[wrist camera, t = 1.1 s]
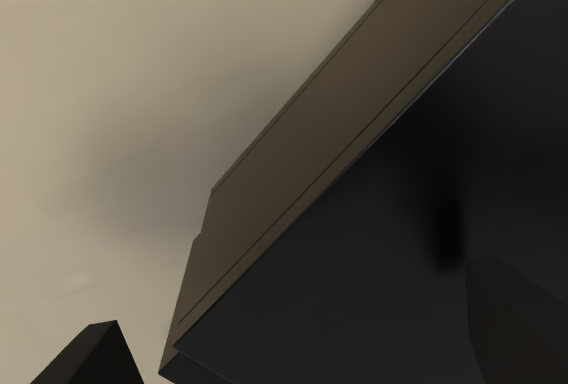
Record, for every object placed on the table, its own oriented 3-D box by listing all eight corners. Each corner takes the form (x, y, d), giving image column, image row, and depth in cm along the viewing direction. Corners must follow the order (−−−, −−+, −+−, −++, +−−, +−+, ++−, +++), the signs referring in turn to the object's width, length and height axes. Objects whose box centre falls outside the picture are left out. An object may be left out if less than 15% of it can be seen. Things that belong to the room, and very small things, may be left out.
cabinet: (434, 349, 24) (509, 547, 16) (210, 188, 20) (170, 347, 13) (708, 131, 20) (988, 263, 12) (485, -126, 16) (682, -178, 8)
